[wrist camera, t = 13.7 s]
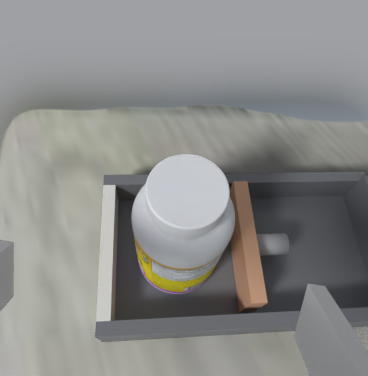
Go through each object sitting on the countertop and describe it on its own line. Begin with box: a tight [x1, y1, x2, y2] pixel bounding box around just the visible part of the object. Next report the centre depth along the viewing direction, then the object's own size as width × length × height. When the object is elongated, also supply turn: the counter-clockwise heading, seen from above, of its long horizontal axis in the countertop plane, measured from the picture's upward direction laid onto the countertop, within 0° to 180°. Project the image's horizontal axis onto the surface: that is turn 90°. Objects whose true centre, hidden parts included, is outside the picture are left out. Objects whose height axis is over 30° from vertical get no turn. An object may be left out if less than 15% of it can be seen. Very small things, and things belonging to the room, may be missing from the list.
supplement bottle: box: [131, 154, 235, 294], centre depth 25 cm, size 7×7×13 cm
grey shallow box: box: [95, 172, 368, 342], centre depth 30 cm, size 24×13×5 cm, turn 93°
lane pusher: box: [230, 181, 289, 312], centre depth 29 cm, size 4×10×4 cm, turn 3°
